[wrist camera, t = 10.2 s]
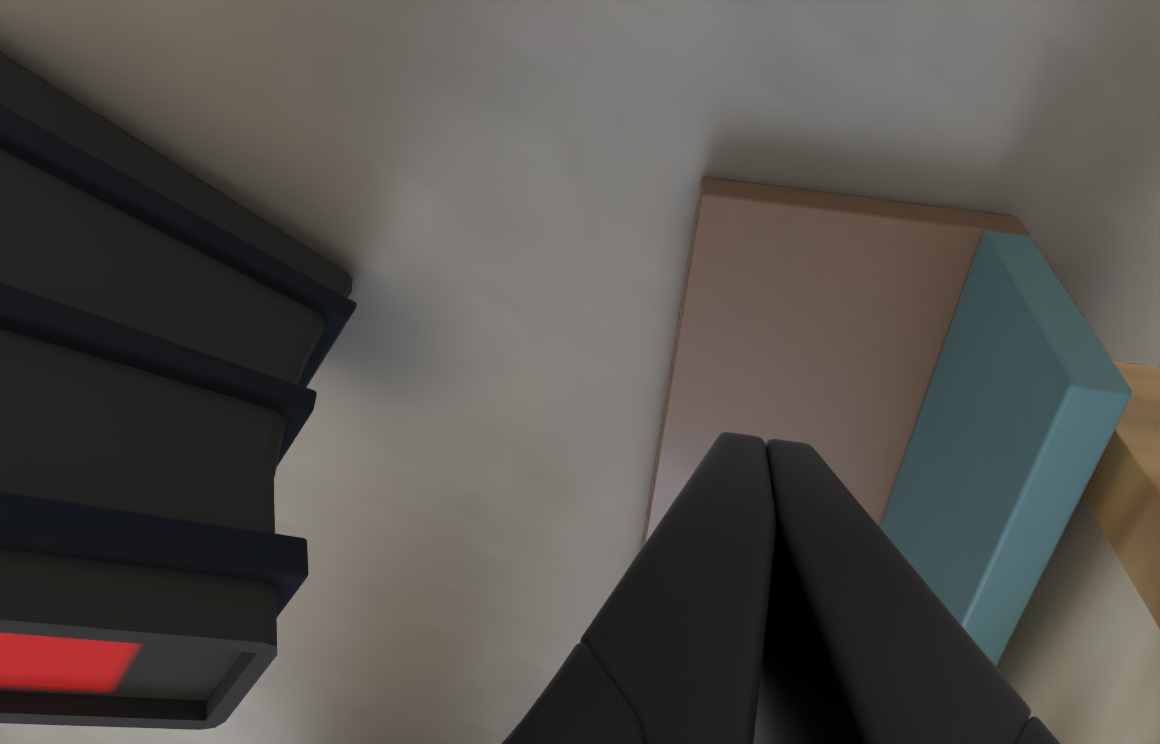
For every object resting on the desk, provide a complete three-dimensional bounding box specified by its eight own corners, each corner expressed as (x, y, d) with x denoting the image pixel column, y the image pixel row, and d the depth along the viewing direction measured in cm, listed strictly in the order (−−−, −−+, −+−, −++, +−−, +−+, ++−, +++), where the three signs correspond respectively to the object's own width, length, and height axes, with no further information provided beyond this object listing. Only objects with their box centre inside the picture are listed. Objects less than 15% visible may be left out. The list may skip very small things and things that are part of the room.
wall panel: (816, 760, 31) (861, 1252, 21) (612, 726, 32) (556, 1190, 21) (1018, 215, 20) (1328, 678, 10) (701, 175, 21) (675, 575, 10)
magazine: (-253, -77, 19) (-825, 529, 9) (350, 164, 26) (409, 645, 16) (-270, 73, 21) (-752, 711, 11) (297, 259, 28) (321, 741, 18)
